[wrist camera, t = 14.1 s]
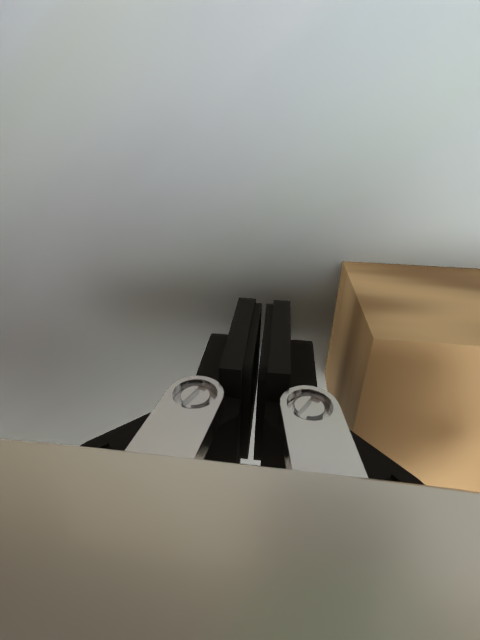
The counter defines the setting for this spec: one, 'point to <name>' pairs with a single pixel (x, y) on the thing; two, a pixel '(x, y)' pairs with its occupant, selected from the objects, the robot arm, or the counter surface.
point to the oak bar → (411, 366)
